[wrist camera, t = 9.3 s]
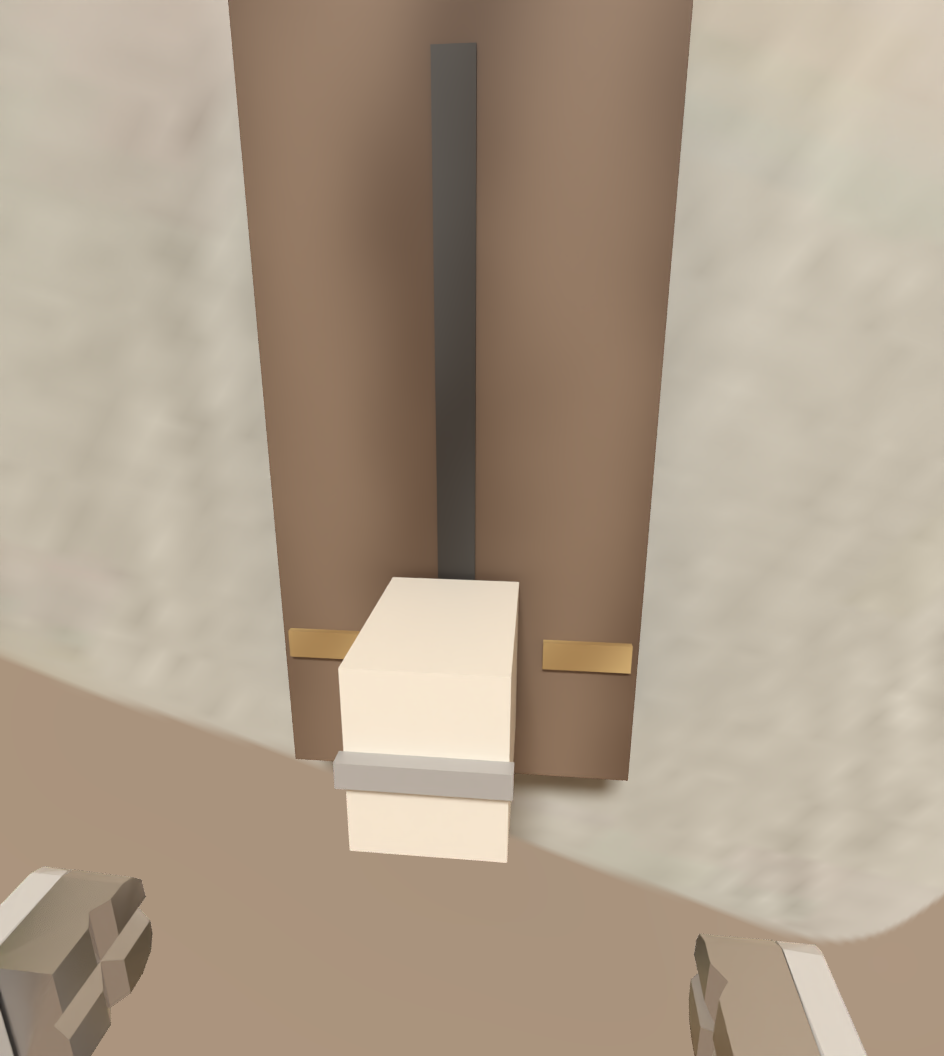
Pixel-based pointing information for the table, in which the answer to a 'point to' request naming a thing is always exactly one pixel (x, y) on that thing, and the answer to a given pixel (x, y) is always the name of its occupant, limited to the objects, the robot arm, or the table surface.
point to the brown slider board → (465, 328)
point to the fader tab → (431, 720)
